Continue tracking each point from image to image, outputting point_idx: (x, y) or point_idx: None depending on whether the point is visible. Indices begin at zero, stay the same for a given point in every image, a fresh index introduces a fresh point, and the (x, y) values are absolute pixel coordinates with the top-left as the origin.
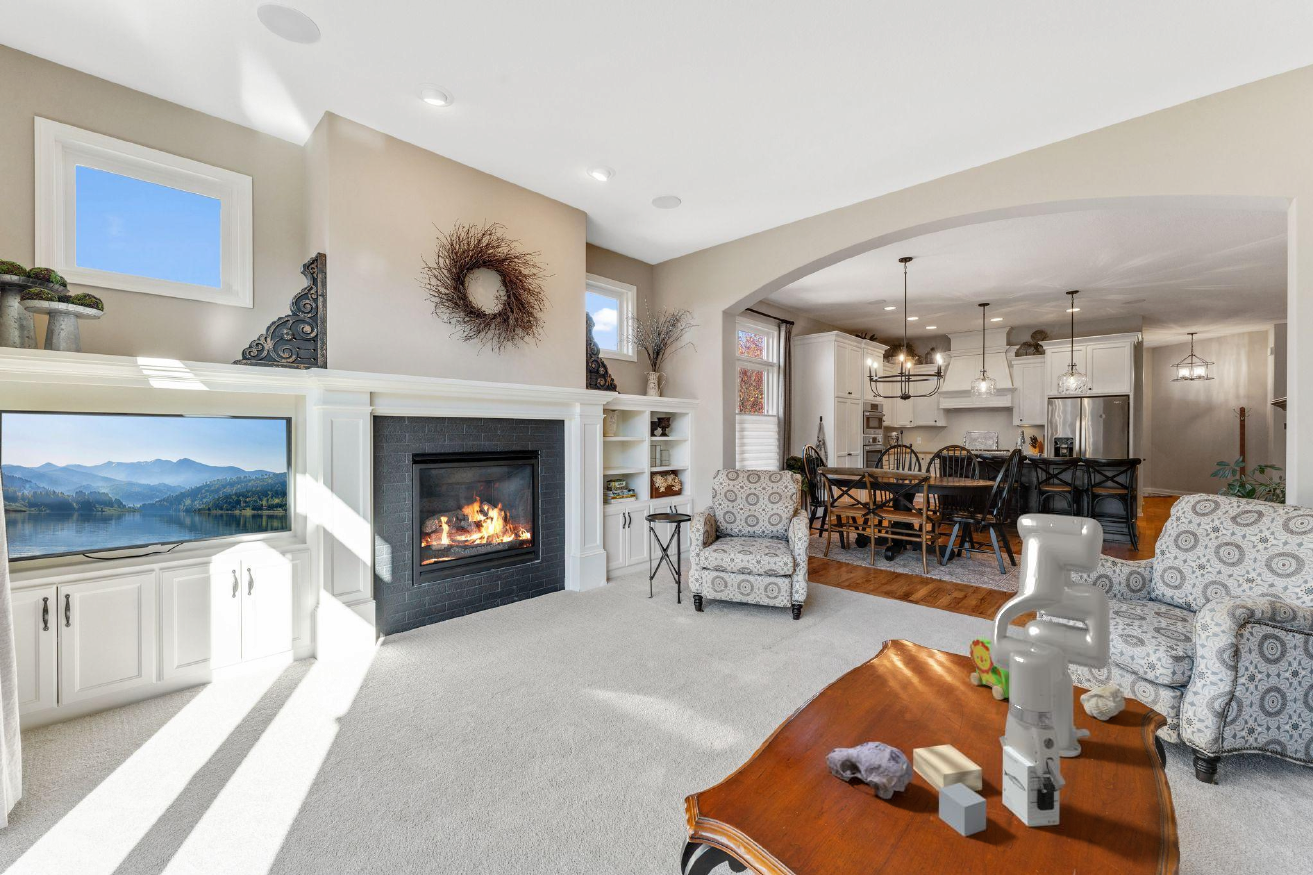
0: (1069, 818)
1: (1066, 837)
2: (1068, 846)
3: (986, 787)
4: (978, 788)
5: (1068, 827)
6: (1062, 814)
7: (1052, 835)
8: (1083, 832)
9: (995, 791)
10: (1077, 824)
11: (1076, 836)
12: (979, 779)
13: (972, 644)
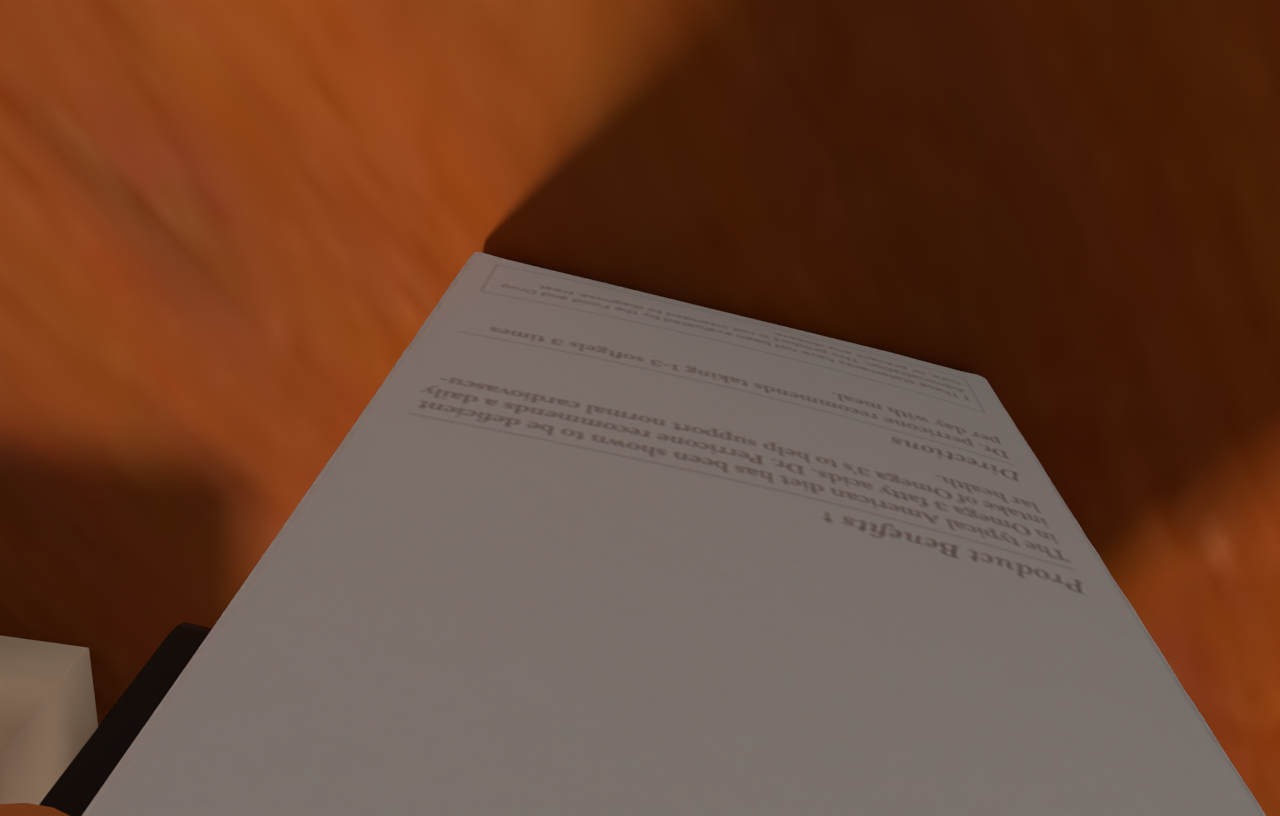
0: (981, 72)
1: (1178, 531)
2: (1272, 657)
3: (52, 561)
4: (83, 708)
5: (1089, 309)
6: (868, 83)
7: None
8: (1272, 205)
9: (151, 527)
10: (1128, 98)
11: (1248, 392)
12: (4, 785)
13: None
